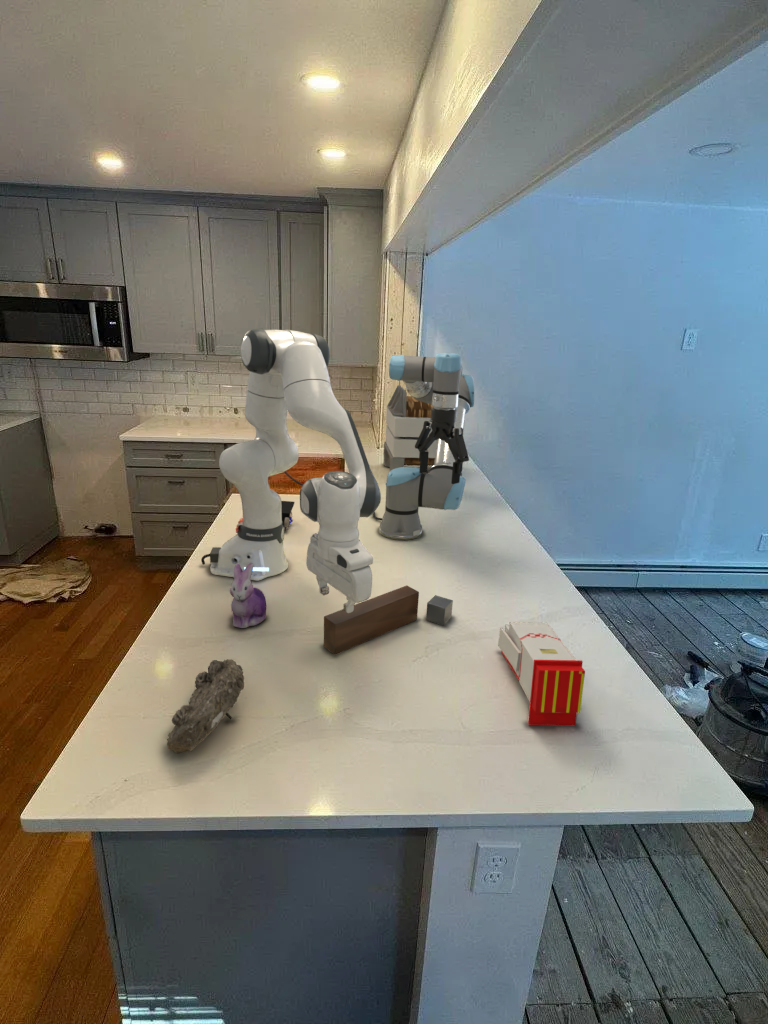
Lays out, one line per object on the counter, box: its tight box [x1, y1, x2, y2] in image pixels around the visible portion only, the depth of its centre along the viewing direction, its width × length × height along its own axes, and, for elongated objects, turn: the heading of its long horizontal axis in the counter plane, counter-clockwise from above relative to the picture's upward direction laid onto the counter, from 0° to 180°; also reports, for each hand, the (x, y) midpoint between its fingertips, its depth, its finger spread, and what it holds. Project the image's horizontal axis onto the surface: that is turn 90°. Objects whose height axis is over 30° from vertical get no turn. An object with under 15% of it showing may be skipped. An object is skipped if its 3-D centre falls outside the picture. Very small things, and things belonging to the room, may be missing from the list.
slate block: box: [425, 594, 454, 626], centre depth 145 cm, size 5×5×5 cm
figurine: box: [229, 563, 268, 629], centre depth 139 cm, size 9×10×15 cm
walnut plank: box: [323, 585, 420, 656], centre depth 137 cm, size 4×26×8 cm, turn 131°
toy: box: [497, 621, 586, 727], centre depth 121 cm, size 12×13×30 cm
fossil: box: [166, 658, 245, 754], centre depth 106 cm, size 22×10×15 cm
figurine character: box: [281, 500, 295, 533], centre depth 201 cm, size 7×8×15 cm
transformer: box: [383, 384, 465, 472], centre depth 268 cm, size 34×33×41 cm
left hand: (335, 602), depth 128 cm, fingers open, 8 cm apart
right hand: (438, 477), depth 173 cm, fingers open, 13 cm apart
